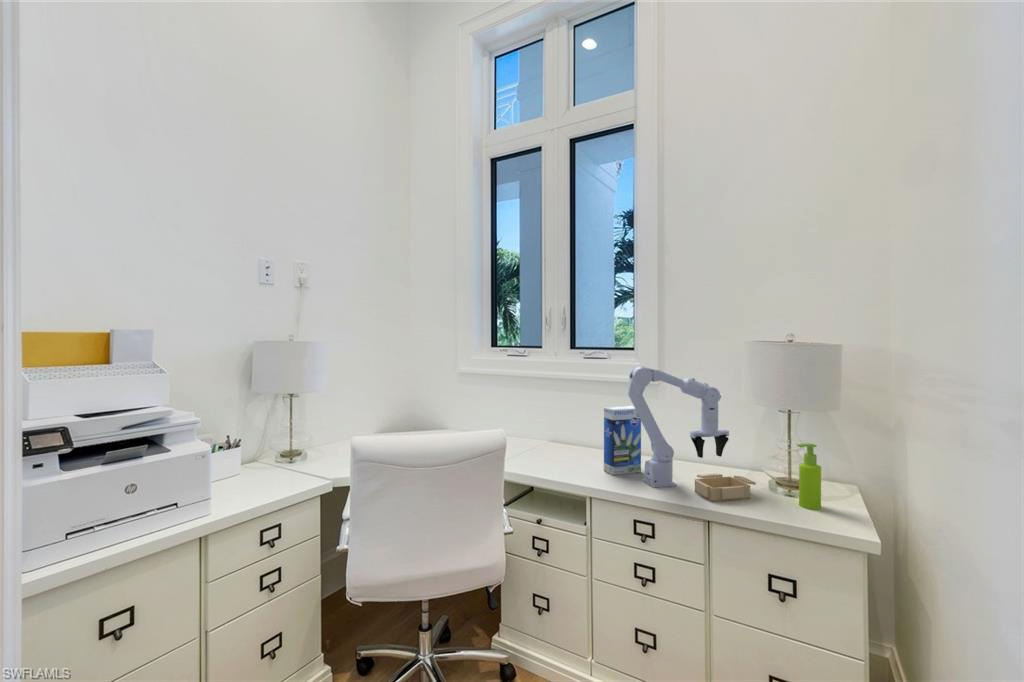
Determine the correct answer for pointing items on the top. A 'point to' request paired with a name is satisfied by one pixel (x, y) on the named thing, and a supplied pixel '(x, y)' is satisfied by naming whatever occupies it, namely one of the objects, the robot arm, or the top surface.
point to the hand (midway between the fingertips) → (709, 456)
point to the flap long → (709, 475)
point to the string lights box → (622, 440)
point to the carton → (722, 489)
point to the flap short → (744, 480)
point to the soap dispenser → (809, 480)
